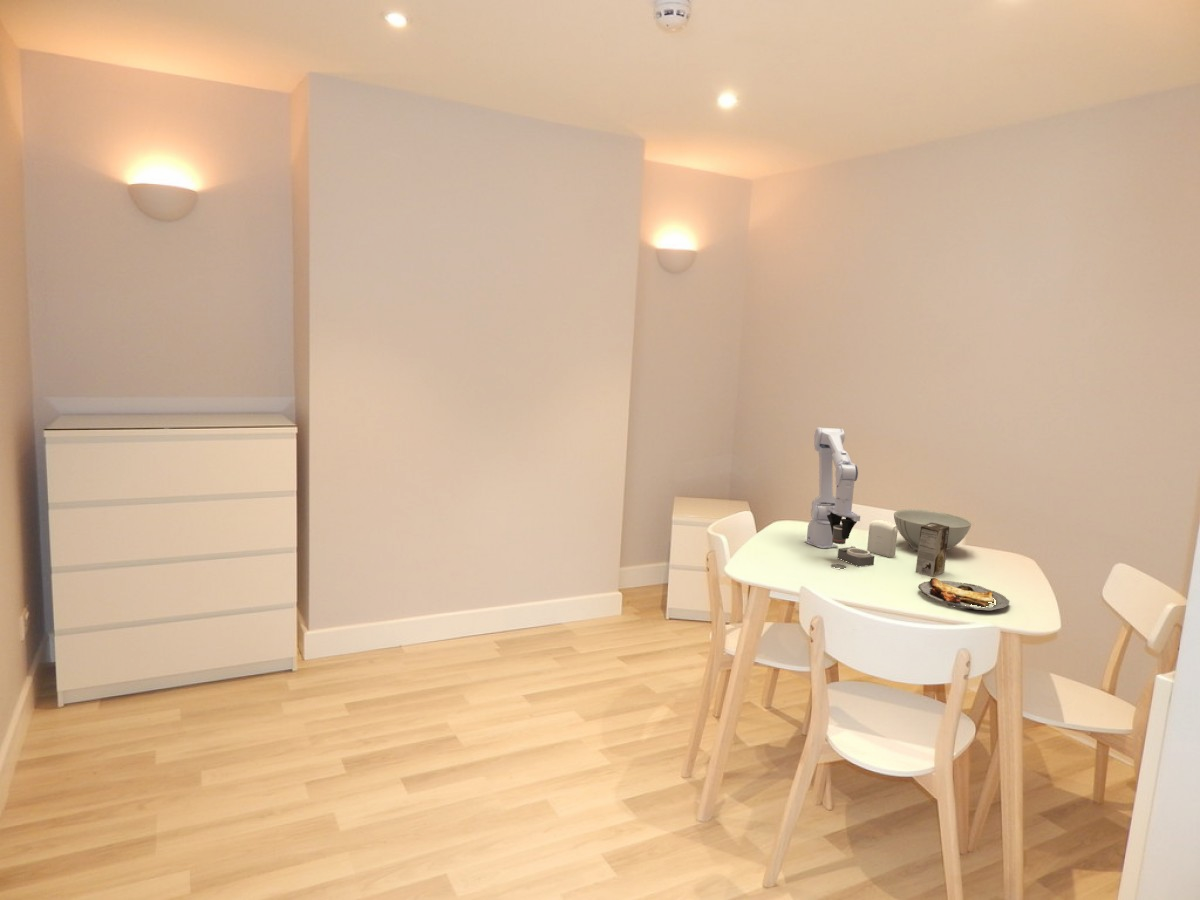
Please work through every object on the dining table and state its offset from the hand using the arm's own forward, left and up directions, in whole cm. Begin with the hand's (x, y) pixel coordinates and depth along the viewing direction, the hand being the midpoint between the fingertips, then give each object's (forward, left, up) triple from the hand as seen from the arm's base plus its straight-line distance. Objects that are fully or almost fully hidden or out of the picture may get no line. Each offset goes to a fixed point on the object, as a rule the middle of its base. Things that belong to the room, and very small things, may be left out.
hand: (840, 536), depth 269 cm
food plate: (+44, +7, -9) cm, 46 cm away
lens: (0, 0, -2) cm, 2 cm away
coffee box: (+21, +21, -9) cm, 31 cm away
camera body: (+3, +5, -8) cm, 10 cm away
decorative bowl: (+1, +46, -9) cm, 47 cm away
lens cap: (+6, -6, -9) cm, 12 cm away
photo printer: (-1, +22, -9) cm, 24 cm away
